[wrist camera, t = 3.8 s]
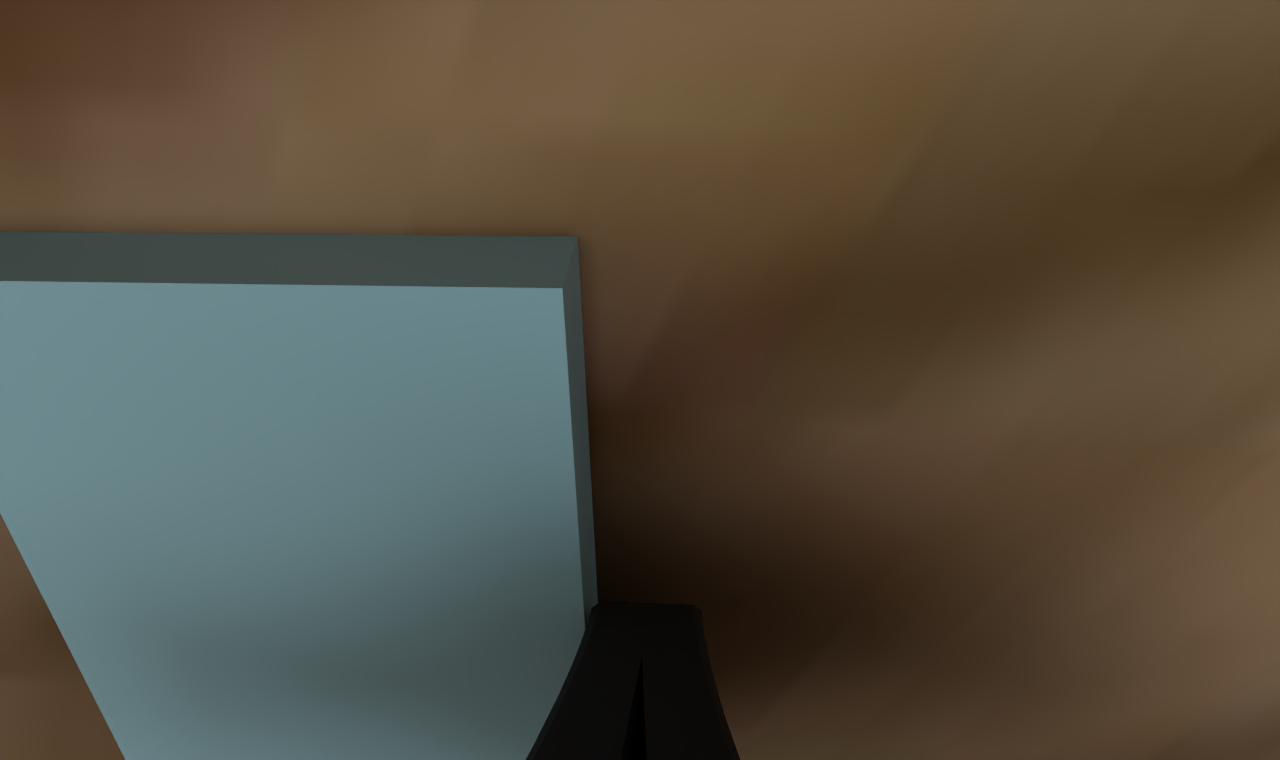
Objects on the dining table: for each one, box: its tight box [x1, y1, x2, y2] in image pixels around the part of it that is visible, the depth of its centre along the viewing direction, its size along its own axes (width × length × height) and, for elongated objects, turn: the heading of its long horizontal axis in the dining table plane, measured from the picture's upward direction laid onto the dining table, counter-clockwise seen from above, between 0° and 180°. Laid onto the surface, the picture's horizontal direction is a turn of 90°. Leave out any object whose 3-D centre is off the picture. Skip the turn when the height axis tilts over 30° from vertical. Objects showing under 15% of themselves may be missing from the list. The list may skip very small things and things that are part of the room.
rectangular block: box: [0, 232, 598, 760], centre depth 13 cm, size 11×7×2 cm, turn 1°
